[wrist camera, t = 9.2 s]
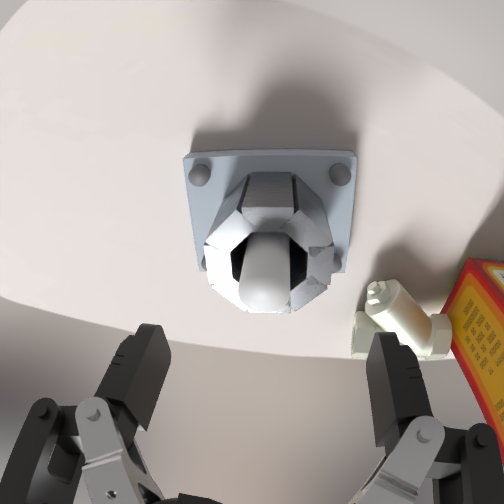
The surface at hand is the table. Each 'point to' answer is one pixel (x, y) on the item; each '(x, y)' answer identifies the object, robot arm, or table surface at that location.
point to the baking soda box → (481, 336)
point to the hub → (272, 220)
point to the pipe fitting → (399, 323)
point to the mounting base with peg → (270, 243)
